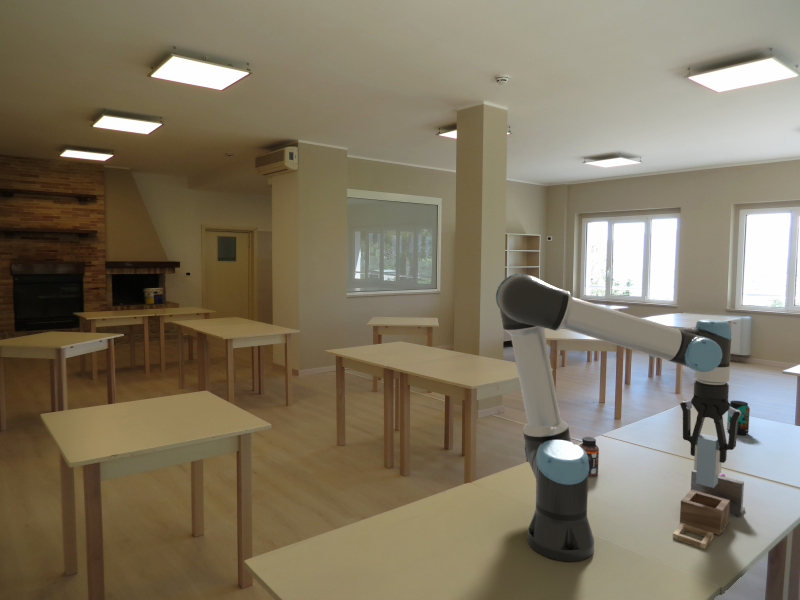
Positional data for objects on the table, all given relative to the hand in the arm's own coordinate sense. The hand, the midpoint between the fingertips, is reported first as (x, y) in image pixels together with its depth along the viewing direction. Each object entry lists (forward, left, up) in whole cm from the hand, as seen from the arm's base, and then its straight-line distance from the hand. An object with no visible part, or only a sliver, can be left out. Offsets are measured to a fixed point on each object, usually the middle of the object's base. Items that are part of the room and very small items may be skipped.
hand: (707, 471), depth 133 cm
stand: (-10, 0, -14) cm, 17 cm away
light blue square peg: (0, 0, -3) cm, 3 cm away
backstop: (+12, 0, -14) cm, 19 cm away
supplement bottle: (+9, +35, -14) cm, 39 cm away
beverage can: (+87, +10, -14) cm, 89 cm away
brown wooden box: (0, 0, -14) cm, 14 cm away
